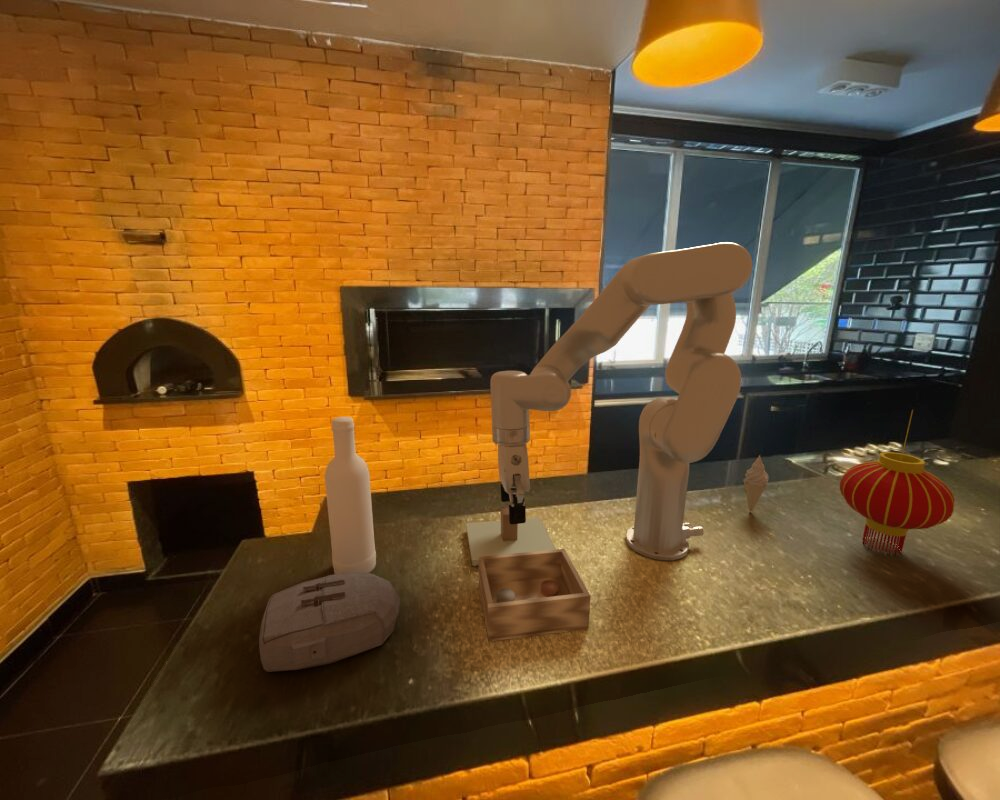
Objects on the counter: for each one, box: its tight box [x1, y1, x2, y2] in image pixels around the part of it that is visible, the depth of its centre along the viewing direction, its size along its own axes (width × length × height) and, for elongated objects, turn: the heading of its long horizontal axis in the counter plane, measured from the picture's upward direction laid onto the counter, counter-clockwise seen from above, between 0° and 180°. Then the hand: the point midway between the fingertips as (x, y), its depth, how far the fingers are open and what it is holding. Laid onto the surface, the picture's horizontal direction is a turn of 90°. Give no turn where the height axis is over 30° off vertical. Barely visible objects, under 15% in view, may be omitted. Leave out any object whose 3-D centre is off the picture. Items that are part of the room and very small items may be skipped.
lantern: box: [839, 409, 955, 554], centre depth 86 cm, size 17×17×30 cm
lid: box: [465, 506, 557, 567], centre depth 89 cm, size 17×14×8 cm
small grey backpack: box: [258, 572, 401, 673], centre depth 65 cm, size 15×8×20 cm
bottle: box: [324, 416, 377, 575], centre depth 79 cm, size 8×8×30 cm
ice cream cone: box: [743, 454, 770, 512], centre depth 102 cm, size 5×5×15 cm
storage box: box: [477, 548, 591, 643], centre depth 71 cm, size 16×13×6 cm
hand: (512, 511), depth 88 cm, fingers open, 9 cm apart
